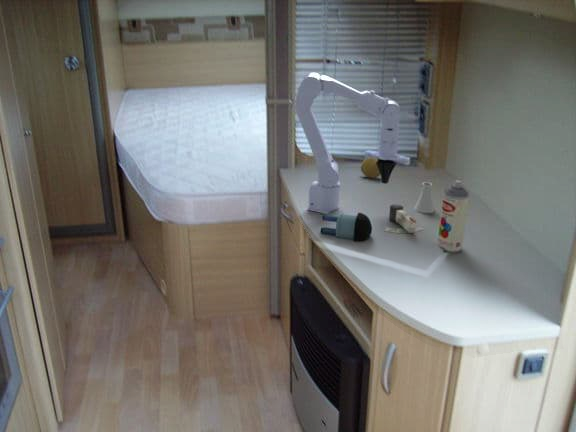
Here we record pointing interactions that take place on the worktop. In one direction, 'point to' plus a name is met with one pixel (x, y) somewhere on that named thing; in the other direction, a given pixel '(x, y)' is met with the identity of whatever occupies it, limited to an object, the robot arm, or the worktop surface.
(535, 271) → the worktop surface
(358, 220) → the toy
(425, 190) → the flask
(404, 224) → the peg
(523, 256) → the worktop surface
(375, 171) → the potato
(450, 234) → the aerosol can
